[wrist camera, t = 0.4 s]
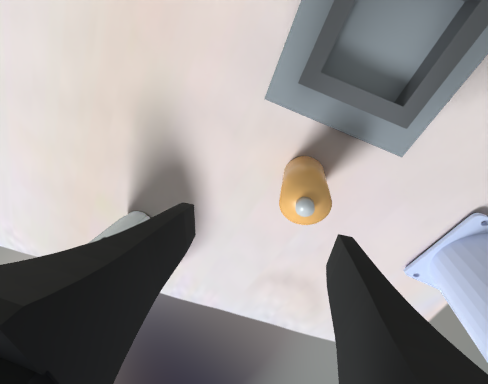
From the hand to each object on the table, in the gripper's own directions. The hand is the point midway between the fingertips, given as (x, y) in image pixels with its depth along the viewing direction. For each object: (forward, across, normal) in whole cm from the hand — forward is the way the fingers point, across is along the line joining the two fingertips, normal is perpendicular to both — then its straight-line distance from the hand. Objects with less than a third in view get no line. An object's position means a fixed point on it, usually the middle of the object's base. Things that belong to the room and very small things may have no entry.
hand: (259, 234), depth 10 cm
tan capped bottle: (+9, -2, 0) cm, 10 cm away
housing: (+9, -5, -9) cm, 14 cm away
